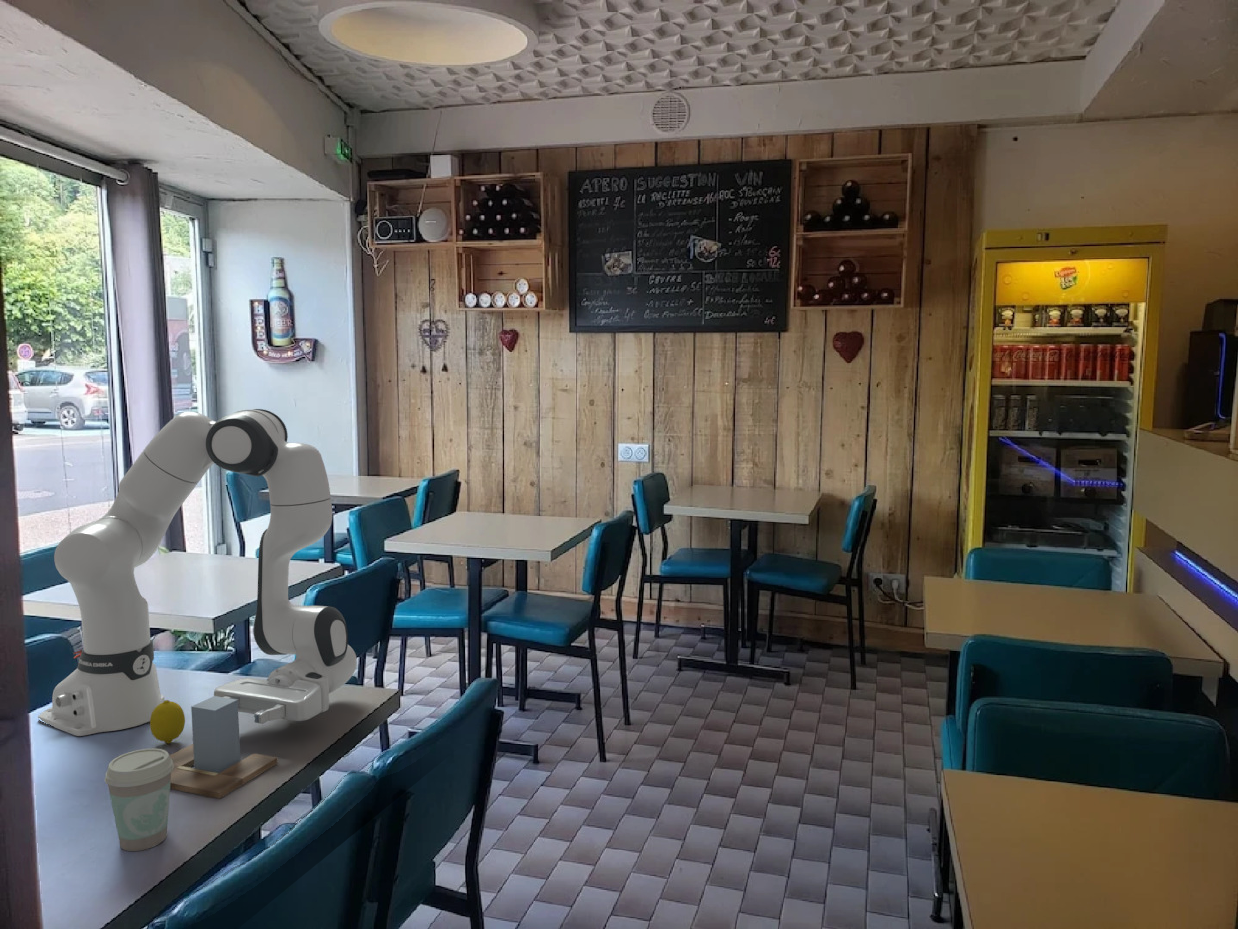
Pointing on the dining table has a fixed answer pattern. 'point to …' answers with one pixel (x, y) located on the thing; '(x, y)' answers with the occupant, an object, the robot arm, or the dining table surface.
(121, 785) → the coffee cup
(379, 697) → the dining table surface
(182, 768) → the wooden u-shaped frame
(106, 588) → the robot arm
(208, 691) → the dining table surface
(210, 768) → the blue-grey rectangular block
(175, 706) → the lemon
